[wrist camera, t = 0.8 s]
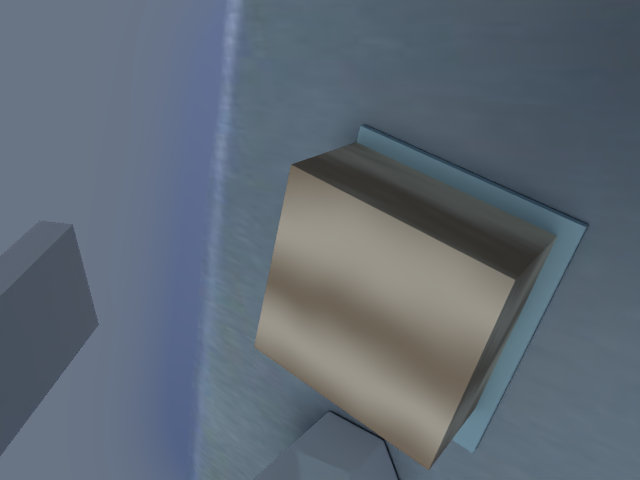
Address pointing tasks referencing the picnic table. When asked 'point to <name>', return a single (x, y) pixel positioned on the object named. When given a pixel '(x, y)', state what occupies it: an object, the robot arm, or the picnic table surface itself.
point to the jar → (332, 455)
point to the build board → (544, 287)
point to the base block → (394, 293)
